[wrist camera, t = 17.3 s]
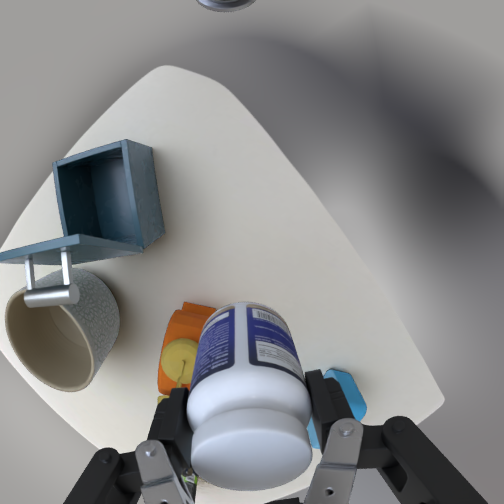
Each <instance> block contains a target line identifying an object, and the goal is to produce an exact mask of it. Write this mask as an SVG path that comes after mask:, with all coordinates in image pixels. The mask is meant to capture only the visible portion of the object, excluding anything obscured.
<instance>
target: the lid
mask: <svg viewBox="0 0 504 504" xmlns="http://www.w3.org/2000/svg"><path fill="white" fill-rule="evenodd" d="M140 253H143V247H142V246H137V245H132V244H127V243H122V242H117V241H112V240H108V239H103V238H98V237H93V236H88V235H83V234H75V235H70V236H66V237H61V238H57V239H53V240H49V241H44V242H40V243H36V244H32V245H28V246H24V247H20V248H16V249H12V250H8V251H5V252H1V253H0V263H9V264H25V271H26V281H27V290H26V291H25V293H24V301H25V304H26V305H27V306H28V307H30V308H34V307H46V306H57V305H68V304H76V303H77V302H78V301H79V297H80V294H79V289H78V287H77V285H76V284H74V283H73V274H72V265H74V264H80V263H86V262H91V261H97V260H103V259H110V258H116V257H122V256H128V255H134V254H140ZM33 264H38V265H62V270H63V279H64V284H62V285H55V286H47V287H40V288H36V287H35V278H34V267H33Z"/></svg>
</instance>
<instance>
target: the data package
mask: <svg viewBox="0 0 504 504" xmlns="http://www.w3.org/2000/svg"><path fill="white" fill-rule="evenodd" d="M329 377H333V378H334V379H336V380H337V381H338V382H339V383H340V385H341V387H342V390H343V392H344V394H345V397H346V399H347V401H348V403H349V406H350V408H351V410H352V413H353V415H354V417H355V419H356V420H358V421H359V422H360V421H361V419H362V418H363V417H364V416H365V414H366V410H367V406H366V403H365V401H364V399H363V397H362V395H361V393H360V392H359V390H358V388H357V386H356V384H355V382H354V380H353V378H352V376H351V375H350V374H349V373H344V372H340V371H336V370H332V369H330V370H328V371H327V372H326V374H325V375H324V377H323V378H324V379H325V378H329ZM307 430H308V434H309V438H310V442H311V445H312V447H313V448H316V449H320V446H319V442H318V439H317V435H316V431H315V428H314V424H313V420H312V417H311V419H310V422H309V425H308V427H307Z"/></svg>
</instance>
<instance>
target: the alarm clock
mask: <svg viewBox="0 0 504 504" xmlns="http://www.w3.org/2000/svg"><path fill="white" fill-rule="evenodd" d="M215 311H216V309H215V308H210V307H206V306H201V305H196V304H192V303H187V302H184V304H183V308H182V310H175V312H174V313H173V315H172V317H171V319H170V322H169V324H168V327H167V330H166V334H165V337H164V342H163V346H162V351H161V356H160V362H159V370H158V389H159V392H160V393H161V394H163V395H164V396H159V397H158V404H159V403H160V402H161V400H162V399H163V398H169V396H170V392H171V389H172V388H182V387H187V388H188V390H190V385H191V380H192V375H193V370H194V365H195V360H196V355H197V349H198V345H199V340H200V335H201V332H202V329H203V327H204V325H205V323H206V321H207V320H208V319H209V317H210V316H211V315H212V314H213V313H215ZM166 395H167V396H166Z"/></svg>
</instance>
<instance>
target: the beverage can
mask: <svg viewBox="0 0 504 504" xmlns="http://www.w3.org/2000/svg"><path fill="white" fill-rule="evenodd" d="M187 471H188V468H186V470H185V472H186V473H187ZM182 477H183V479H184V481H185V484H186V486H187V488H188V490H189V493H190V495H191V497H192V499H193V501H194V503H195V496H196V486H197V477H198V474H197V473H196V472H195V471H194V469H193V474H192V476H188V477H184V476H182Z"/></svg>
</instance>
